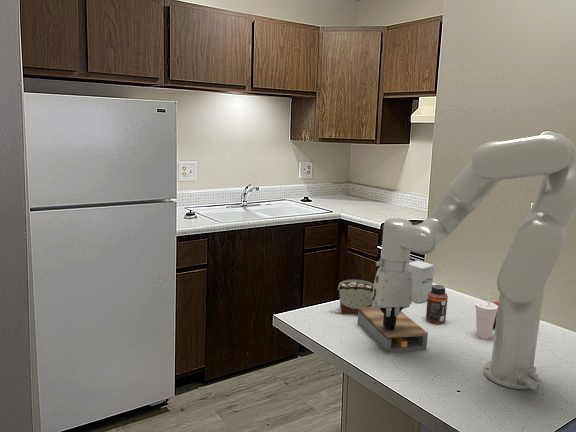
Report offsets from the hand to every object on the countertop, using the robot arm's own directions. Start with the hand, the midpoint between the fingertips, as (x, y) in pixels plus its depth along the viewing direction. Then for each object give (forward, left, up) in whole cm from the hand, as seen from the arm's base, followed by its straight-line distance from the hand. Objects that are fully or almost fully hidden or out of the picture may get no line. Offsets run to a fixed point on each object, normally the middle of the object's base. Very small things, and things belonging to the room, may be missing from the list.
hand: (388, 328), depth 142 cm
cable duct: (+6, -4, -5) cm, 8 cm away
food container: (+25, -1, -5) cm, 25 cm away
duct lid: (+6, -4, -1) cm, 7 cm away
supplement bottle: (+13, -23, -5) cm, 26 cm away
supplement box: (+32, -27, -5) cm, 42 cm away
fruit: (+5, -41, -5) cm, 41 cm away
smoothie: (0, -31, -5) cm, 31 cm away
